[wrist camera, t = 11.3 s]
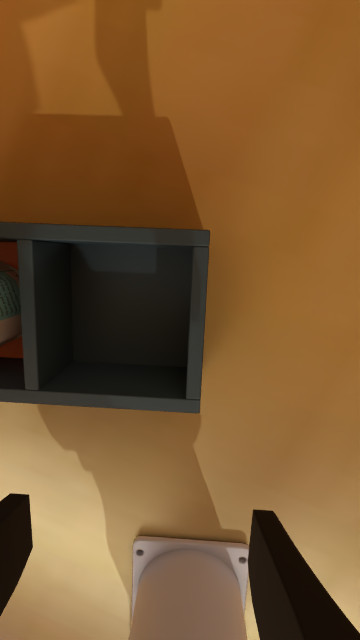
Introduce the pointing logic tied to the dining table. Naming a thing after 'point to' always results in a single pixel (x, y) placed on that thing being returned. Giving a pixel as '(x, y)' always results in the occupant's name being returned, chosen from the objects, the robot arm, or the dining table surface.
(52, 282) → the organizer
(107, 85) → the dining table surface
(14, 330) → the beer can
